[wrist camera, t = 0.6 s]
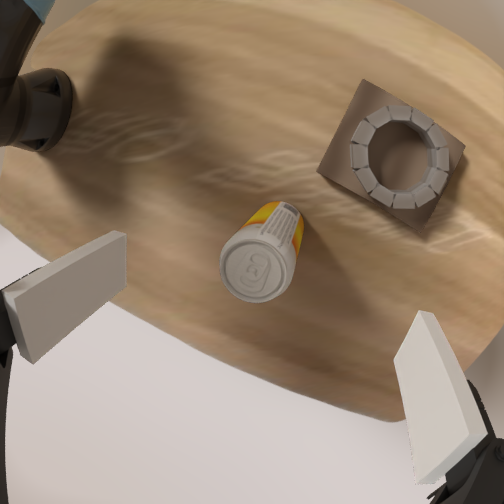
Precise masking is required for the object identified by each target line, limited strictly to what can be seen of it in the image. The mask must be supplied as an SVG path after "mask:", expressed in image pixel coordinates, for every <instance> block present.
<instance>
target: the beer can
mask: <svg viewBox="0 0 504 504" xmlns="http://www.w3.org/2000/svg"><path fill="white" fill-rule="evenodd" d="M303 232H304V222H303V219H302V216H301V214H300V213H299V211H298V210H297V209H296V208H295V207H294V206H292V205H290V204H288V203H286V202H281V201H275V202H270V203H268V204H266V205H264V206H263V207H261V208H260V209H259V210H258V211H257V212H256V213H255V214H254V215H253V216H252V217H251V218H250V219H249V220H248V221H247V222H246V223H245V224H244V225H243V226H242V227H241V228H240V229H239V230H238V231H237V232H236V233H235V234H234V235H233V236H232V237H231V238H230V239H229V240H228V241H227V243H226V244H225V245H224V247H223V249H222V251H221V254H220V260H219V265H220V275H221V279H222V281H223V283H224V285H225V287H226V288H227V289H228V290H229V292H230V293H232V294H233V295H234V296H235V297H237V298H239V299H241V300H243V301H246V302H250V303H263V302H267V301H270V300H272V299H273V298H275V297H277V296H279V295H281V294H282V293H283V292H284V291H285V290H286V289H287V288H288V286H289V285H290V283H291V281H292V278H293V274H294V270H295V266H296V261H297V257H298V253H299V249H300V245H301V240H302V236H303Z"/></svg>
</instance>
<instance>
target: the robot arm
mask: <svg viewBox="0 0 504 504" xmlns="http://www.w3.org/2000/svg"><path fill="white" fill-rule="evenodd" d="M54 3H55V0H0V147H1V146H9V145H10V146H14V147H17V148H21V149H24V150H28V151H31V152H37V151H44V150H48V149H50V148H51V147H53V146H54V145H55V144H56V143H57V142H58V140H59V139H60V138H61V136H62V134H63V132H64V130H65V128H66V126H67V123H68V120H69V116H70V112H71V105H72V90H71V85H70V81H69V79H68V77H67V75H66V74H65V73H64V72H63V71H61V70H59V69H52V68H44V69H40V70H36V71H34V72H30V73H27V74H24V75H20V76H18V73H19V71H20V69H21V67H22V65H23V62H24V60H25V58H26V56H27V54H28V52H29V50H30V48H31V46H32V44H33V42H34V40H35V38H36V36H37V34H38V32H39V31H40V29H41V27H42V25H44V24H45V19H46V17H47V15H48V14H49V12H50V10H51V8H52V7H53V5H54ZM126 246H127V234H126V233H122V232H119V231H115V230H113V231H111V232H109V233H107V234H105V235H103V236H101V237H99V238H97V239H95V240H93V241H91V242H89V243H87V244H85V245H83V246H81V247H79V248H77V249H75V250H73V251H71V252H69V253H67V254H66V255H64V256H62V257H60V258H58V259H56V260H54V261H52V262H51V263H49V264H47V265H45V266H43V267H41V268H38V269H36V270H34V271H32V272H31V273H29V275H25V276H23V277H22V279H18V280H16V281H15V282H13V283H11V284H10V285H8V286H6V287H5V288H3V289H1V290H0V504H9V503H8V494H7V484H6V467H5V423H6V408H7V396H8V387H9V379H10V371H11V365H12V359H13V350H12V346H13V345H14V344H16V343H17V346H18V349H19V352H20V355H21V356H22V357H23V358H25V359H26V360H27V361H29V362H30V363H32V364H34V363H36V362H37V361H38V360H39V359H40V358H41V357H42V356H43V355H45V354H46V353H47V352H48V351H49V350H50V349H52V348H53V347H54V346H55V345H56V344H57V343H58V342H60V341H61V340H62V339H63V338H64V337H66V336H67V335H68V334H69V333H70V332H71V331H72V330H74V329H75V328H76V327H77V326H78V325H80V324H81V323H82V322H83V321H85V320H86V319H87V318H88V317H89V316H91V315H92V314H93V313H94V312H95V311H97V310H98V309H99V308H100V307H102V306H103V305H104V304H105V303H106V302H108V301H109V300H110V299H111V298H113V297H114V296H115V295H116V294H118V293H119V292H120V291H121V290H123V289H124V288H125V287H126ZM394 365H395V369H396V373H397V377H398V382H399V386H400V391H401V396H402V401H403V406H404V411H405V416H406V421H407V427H408V433H409V439H410V446H411V452H412V460H413V468H414V476H415V484H434V483H435V482H436V481H437V480H439V479H440V478H441V477H442V476H444V475H445V476H446V481H447V482H446V483H444V484H443V485H442V486H441V487H439V488H438V489H437V490H435V491H434V492H433V493H431V494H430V495H429V496H428V497H427V499H430V498H431V497H433V496H434V495H435V497H434V498H433V500H432V501H431V503H430V504H504V439H502V438H496V436H495V433H494V430H493V428H492V425H491V422H490V420H489V417H488V415H487V412H486V410H484V405H483V403H482V402H481V398H480V396H479V394H478V391H477V389H476V388H475V387H474V386H473V384H472V383H471V382H470V381H469V380H466V378H465V376H464V374H463V371H462V369H461V367H460V365H459V363H458V361H457V359H456V357H455V354H454V352H453V350H452V348H451V346H450V344H449V342H448V340H447V338H446V336H445V335H444V333H443V331H442V329H441V327H440V325H439V323H438V321H437V319H436V318H435V316H434V314H433V313H430V312H425V311H421V310H419V311H418V313H417V315H416V317H415V319H414V321H413V323H412V325H411V327H410V329H409V331H408V333H407V335H406V337H405V339H404V341H403V343H402V345H401V347H400V349H399V350H398V352H397V354H396V356H395V358H394Z"/></svg>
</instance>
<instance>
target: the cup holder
mask: <svg viewBox="0 0 504 504" xmlns="http://www.w3.org/2000/svg"><path fill="white" fill-rule="evenodd" d="M433 121H434V120H432V119H431V118H429V117H428V116H426V115H425V114H424V113H422V112H421V111H419V110H417V109H416V108H413V107H411V106H409V105H408V104H406V103H405V102H403V101H401V100H400V99H398V98H396V97H395V96H393V95H391V94H390V93H388V92H386V91H385V90H383V89H381V88H379V87H377V86H376V85H374V84H372V83H370V82H368V81H366V80H364V79H362V81H361V83H360V85H359V87H358V89H357V91H356V93H355V95H354V97H353V99H352V101H351V103H350V105H349V107H348V109H347V111H346V113H345V115H344V117H343V119H342V121H341V123H340V125H339V127H338V129H337V131H336V133H335V135H334V137H333V139H332V141H331V143H330V145H329V147H328V149H327V151H326V153H325V155H324V157H323V159H322V161H321V163H320V165H319V167H318V169H317V172H318V173H320V174H322V175H323V176H325V177H327V178H329V179H331V180H333V181H335V182H336V183H338V184H340V185H342V186H344V187H346V188H347V189H349V190H351V191H353V192H354V193H356V194H358V195H360V196H361V197H363V198H365V199H367V200H368V201H370V202H372V203H373V204H375V205H377V206H378V207H380V208H382V209H383V210H385V211H387V212H388V213H390V214H392V215H393V216H395V217H396V218H398V219H400V220H401V221H403V222H404V223H406V224H407V225H409V226H411V227H412V228H414V229H415V230H417V231H418V232H420V233H421V232H422V230H423V228H424V227H425V225H426V223H427V221H428V220H429V218H430V216H431V214H432V212H433V211H434V209H435V207H436V205H437V203H438V201H439V200H440V198H441V196H442V194H443V192H444V190H445V188H446V186H447V184H448V182H449V180H450V178H451V176H452V174H453V172H454V170H455V168H456V166H457V164H458V162H459V160H460V157H461V155H462V153H463V151H464V149H465V145H464V144H463V143H462V142H460V141H459V140H458V139H457V138H455V137H454V136H453V135H451V134H450V133H449V132H447V131H446V130H445V129H443V128H442V127H440V126H439V125H438V124H436V123H435V122H433Z"/></svg>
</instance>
